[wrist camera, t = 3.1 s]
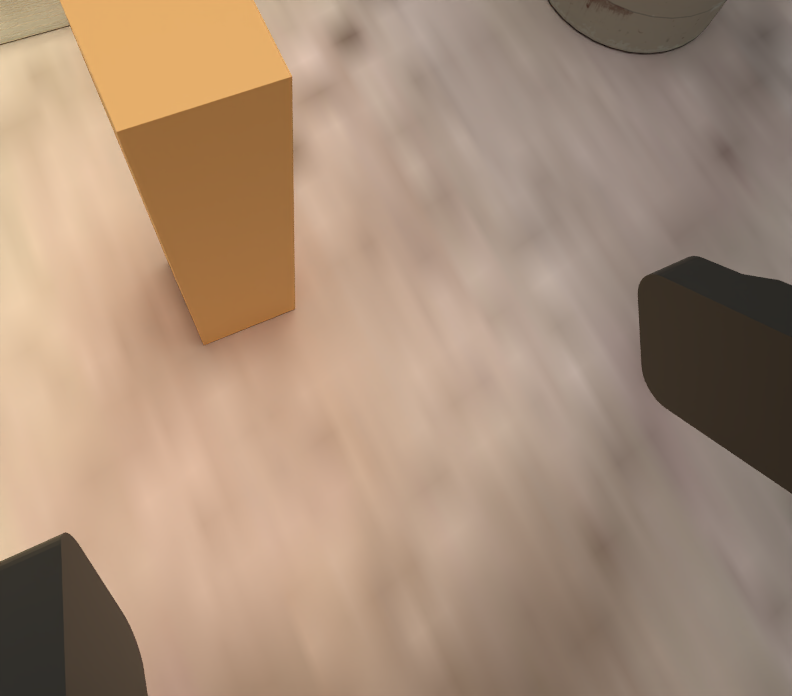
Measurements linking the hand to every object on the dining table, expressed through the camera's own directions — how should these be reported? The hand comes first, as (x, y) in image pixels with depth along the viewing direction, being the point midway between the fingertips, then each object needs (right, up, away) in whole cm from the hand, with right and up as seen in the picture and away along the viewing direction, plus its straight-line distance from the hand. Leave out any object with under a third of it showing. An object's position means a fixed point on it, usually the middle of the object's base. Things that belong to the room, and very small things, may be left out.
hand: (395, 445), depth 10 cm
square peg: (-5, +3, +15) cm, 16 cm away
